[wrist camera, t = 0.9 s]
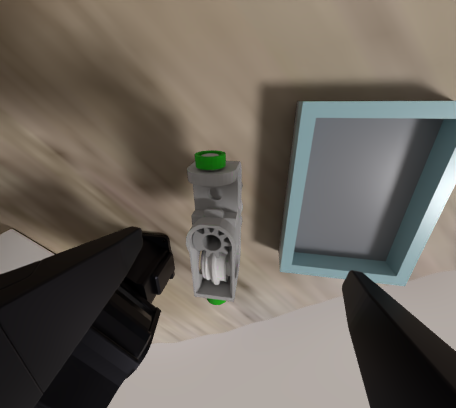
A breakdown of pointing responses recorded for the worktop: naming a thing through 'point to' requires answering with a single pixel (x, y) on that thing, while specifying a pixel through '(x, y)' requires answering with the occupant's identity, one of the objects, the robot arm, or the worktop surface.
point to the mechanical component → (215, 226)
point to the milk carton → (19, 251)
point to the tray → (366, 186)
